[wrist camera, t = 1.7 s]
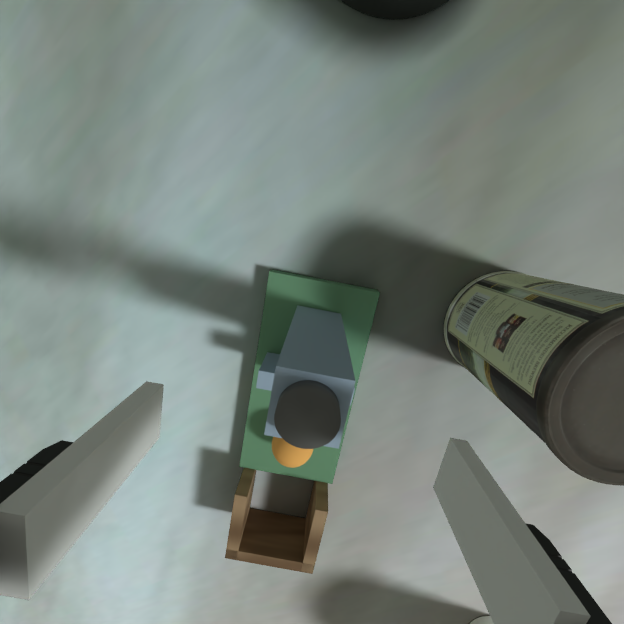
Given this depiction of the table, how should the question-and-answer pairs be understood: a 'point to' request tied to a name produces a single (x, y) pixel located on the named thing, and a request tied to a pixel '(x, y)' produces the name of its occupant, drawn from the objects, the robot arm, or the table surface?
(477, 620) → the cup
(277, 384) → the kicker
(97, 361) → the table surface
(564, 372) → the coffee can
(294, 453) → the ball
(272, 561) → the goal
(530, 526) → the robot arm
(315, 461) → the plate
